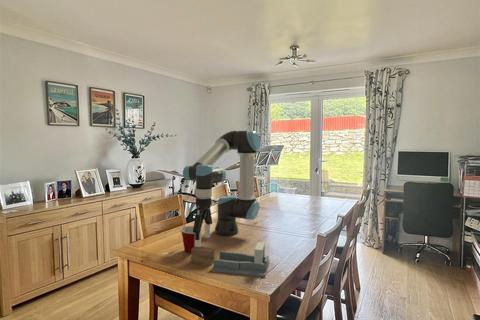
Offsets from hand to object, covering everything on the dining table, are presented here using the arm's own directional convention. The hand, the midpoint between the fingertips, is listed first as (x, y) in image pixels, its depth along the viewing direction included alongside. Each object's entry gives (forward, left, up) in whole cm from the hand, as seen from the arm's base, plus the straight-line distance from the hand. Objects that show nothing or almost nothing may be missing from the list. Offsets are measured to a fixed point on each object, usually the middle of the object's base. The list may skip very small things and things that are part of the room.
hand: (202, 241), depth 137 cm
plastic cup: (-12, -11, -10) cm, 19 cm away
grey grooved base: (0, +19, -10) cm, 22 cm away
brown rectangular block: (0, 0, -10) cm, 10 cm away
